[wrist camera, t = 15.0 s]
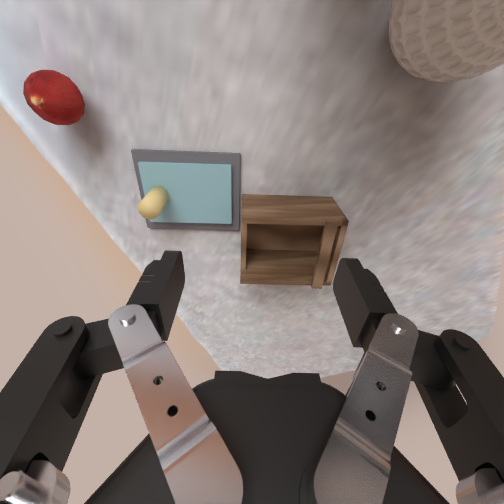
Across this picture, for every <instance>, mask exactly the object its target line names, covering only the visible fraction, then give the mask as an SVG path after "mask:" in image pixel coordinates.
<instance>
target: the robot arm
mask: <svg viewBox="0 0 504 504" xmlns="http://www.w3.org/2000/svg"><path fill="white" fill-rule="evenodd" d="M184 283H185V272H184V265H183V257H182V252H181V251H167V250H166V251H165V252H164V254H163V256H162V258H161V260H154V261H152V262H151V263H150V264H149V265H148V266H146V268H145V270H144V272H143V274H142V276H141V278H140V280H139V282H138V283H137V286H136V287H135V289H134V291H133V293H132V295H131V297H130V299H129V301H128V302H127V304H126V306H123V307H121V308H119V309H117V310H116V311H114V312H113V313H112V314H111V316H110V317H109V318H108V319H105V320H101V321H97V322H92V323H87V324H85V322H84V321H83V319H81V318H80V317H76V316H70V317H65V318H61V319H59V320H57V321H55V322H53V323H52V324H50V325H49V326H48V327H47V328H46V329H45V330H44V331H43V333H42V334H41V336H40V337H39V339H38V340H37V341H36V343H35V344H34V346H33V347H32V348H31V350H30V351H29V353H28V354H27V355H26V357H25V358H24V360H23V361H22V362H21V364H20V366H19V367H18V368H17V370H16V371H15V372H14V374H13V375H12V377H11V378H10V379H9V381H8V382H7V384H6V385H5V387H4V388H3V389H2V391H1V392H0V504H67V503H68V498H69V495H70V482H69V479H68V478H67V477H66V475H65V474H64V473H62V470H63V468H64V466H65V463H66V461H67V459H68V456H69V454H70V451H71V449H72V447H73V444H74V442H75V439H76V437H77V435H78V432H79V430H80V427H81V425H82V423H83V420H84V418H85V416H86V413H87V411H88V408H89V406H90V403H91V401H92V399H93V396H94V394H95V392H96V389H97V387H98V384H99V382H100V380H101V377H102V374H104V373H107V372H111V371H114V370H118V369H122V368H125V371H126V374H127V376H128V379H129V381H130V384H131V387H132V390H133V392H134V394H135V397H136V400H137V403H138V405H139V408H140V411H141V413H142V416H143V418H144V421H145V424H146V426H147V429H148V431H149V434H148V435H147V436H146V437H145V438H144V440H143V441H142V442H141V443H140V444H139V445H138V446H137V447H136V448H135V449H134V450H133V451H132V452H131V453H130V455H129V456H128V457H127V458H126V459H125V460H124V461H123V462H122V463H121V464H120V465H119V467H118V468H117V469H116V470H115V471H114V472H113V473H112V474H111V475H110V476H109V477H108V478H107V479H106V480H105V482H104V483H103V484H102V485H101V486H100V487H99V488H98V489H97V490H96V491H95V492H94V493H93V494H92V496H91V497H90V498H89V499H88V500H87V501H86V502H85V503H84V504H449V502H447V500H446V499H445V498H444V497H443V496H442V495H441V494H440V493H439V492H438V491H437V490H436V489H435V488H434V487H433V486H432V485H431V484H430V483H429V482H428V481H427V480H426V479H425V477H424V476H423V475H422V474H421V473H420V472H419V471H418V470H417V469H416V468H415V467H414V466H413V465H412V464H411V463H410V462H409V461H408V460H407V459H406V458H405V457H404V456H403V455H402V454H401V453H400V452H399V450H398V449H397V448H396V447H395V446H394V443H395V439H396V435H397V431H398V427H399V423H400V420H401V415H402V412H403V408H404V404H405V400H406V397H407V393H408V389H409V385H410V381H414V382H415V384H416V387H417V389H418V391H419V393H420V395H421V398H422V400H423V402H424V404H425V406H426V409H427V411H428V413H429V415H430V418H431V420H432V422H433V424H434V426H435V429H436V431H437V433H438V435H439V438H440V440H441V442H442V444H443V446H444V449H445V451H446V453H447V455H448V458H449V459H450V462H451V464H452V466H453V469H454V471H455V473H456V475H457V477H458V480H459V483H458V484H457V487H456V498H457V502H458V504H504V378H503V376H502V375H501V373H500V372H499V371H498V369H497V368H496V367H495V365H494V364H493V363H492V361H491V360H490V359H489V357H488V356H487V355H486V353H485V352H484V351H483V349H482V348H481V347H480V345H479V344H478V343H477V342H476V341H475V340H474V339H473V338H471V337H470V336H468V335H467V334H465V333H463V332H460V331H457V330H452V329H448V330H444V331H443V332H442V333H441V335H440V336H437V335H434V334H430V333H427V332H423V331H420V330H418V329H417V327H416V326H415V324H414V323H413V322H412V321H410V320H409V319H408V318H406V317H404V316H402V315H399V314H398V313H397V311H396V310H395V308H394V306H393V305H392V303H391V301H390V299H389V298H388V296H387V294H386V293H385V292H384V289H383V287H382V286H381V285H380V282H379V281H378V279H377V277H376V276H375V275H374V274H373V273H372V272H371V271H370V270H368V269H363V267H362V265H361V263H360V261H359V260H358V259H355V258H342V259H341V260H340V262H339V265H338V269H337V272H336V275H335V278H334V282H333V291H334V294H335V297H336V300H337V303H338V305H339V308H340V311H341V314H342V317H343V319H344V322H345V325H346V328H347V331H348V333H349V336H350V339H351V342H352V345H353V347H362V348H363V350H364V354H363V356H362V358H361V360H360V363H359V365H358V367H357V369H356V371H355V374H354V376H353V378H352V380H351V382H350V384H349V387H348V389H347V391H346V393H345V395H344V394H343V393H342V392H340V391H339V390H337V389H335V388H334V387H332V386H330V385H328V384H325V383H322V382H321V381H320V376H319V373H291V374H287V375H283V376H278V377H274V378H270V379H266V378H262V377H259V376H255V375H252V374H248V373H245V372H241V371H215V378H214V379H211V380H208V381H206V382H203V383H201V384H199V385H197V386H196V387H194V388H193V389H192V388H191V386H190V384H189V383H188V381H187V379H186V377H185V376H184V374H183V372H182V370H181V368H180V366H179V365H178V363H177V361H176V360H175V357H174V356H173V354H172V352H171V350H170V349H169V347H168V345H167V343H166V342H165V341H167V340H168V337H169V333H170V330H171V327H172V323H173V320H174V317H175V314H176V311H177V307H178V304H179V301H180V298H181V294H182V291H183V288H184ZM163 341H164V342H163ZM456 384H457V386H458V387H459V389H460V391H461V393H462V394H463V396H464V398H465V400H466V402H467V405H466V402H465V401H464V399H463V397H462V395H461V394H460V392H459V390H458V388H457V387H456Z"/></svg>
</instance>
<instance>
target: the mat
mask: <svg viewBox="0 0 504 504" xmlns="http://www.w3.org/2000/svg"><path fill="white" fill-rule="evenodd" d="M131 152H132V157H133V162H134V166H135V171H136V176H137V180H138V185H139V190H140V194H141V199H143V198H144V197H145V196H144V191H143V186H142V181H141V176H140V172H139V167H138V162H169V163H200V164H231V181H232V224H216V223H175V222H150V219H146V223H147V227H148V228H179V229H215V230H239V196H240V153H219V152H193V151H167V150H141V149H132V150H131Z"/></svg>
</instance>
